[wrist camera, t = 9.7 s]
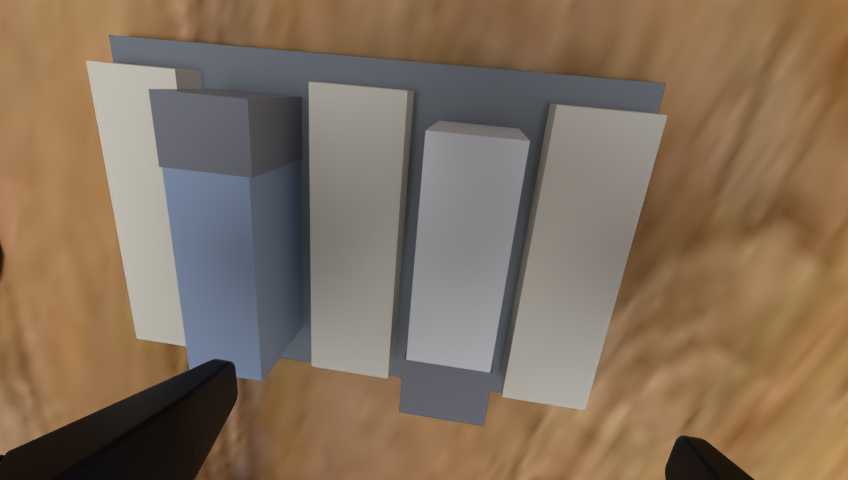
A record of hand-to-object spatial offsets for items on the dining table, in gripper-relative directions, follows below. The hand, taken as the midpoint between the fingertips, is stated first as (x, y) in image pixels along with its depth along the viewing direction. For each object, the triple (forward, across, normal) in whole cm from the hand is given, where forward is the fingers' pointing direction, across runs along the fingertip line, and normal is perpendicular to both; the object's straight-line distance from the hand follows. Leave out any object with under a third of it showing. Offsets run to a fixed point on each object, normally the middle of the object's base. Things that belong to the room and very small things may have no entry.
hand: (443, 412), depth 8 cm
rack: (+11, +4, 0) cm, 11 cm away
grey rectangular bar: (+10, +9, 0) cm, 13 cm away
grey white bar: (+10, 0, 0) cm, 10 cm away
